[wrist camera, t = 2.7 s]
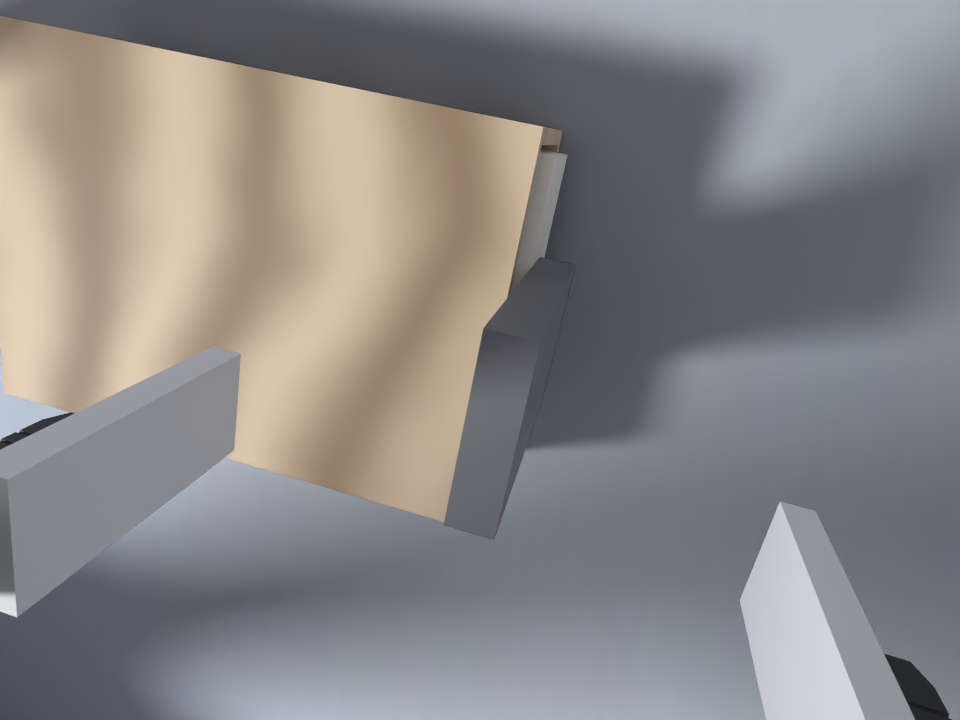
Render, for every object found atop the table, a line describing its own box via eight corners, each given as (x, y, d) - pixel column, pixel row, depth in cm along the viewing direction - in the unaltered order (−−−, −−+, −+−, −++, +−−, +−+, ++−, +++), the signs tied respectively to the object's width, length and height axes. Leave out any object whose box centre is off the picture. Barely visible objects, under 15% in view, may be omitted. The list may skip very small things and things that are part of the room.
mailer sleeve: (112, 349, 37) (3, 392, 31) (113, 38, 32) (-20, 11, 25) (491, 453, 34) (458, 526, 28) (563, 130, 29) (543, 127, 22)
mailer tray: (141, 349, 36) (-125, 462, 23) (146, 66, 31) (-188, 13, 18) (530, 456, 33) (467, 651, 20) (602, 162, 28) (579, 177, 15)
